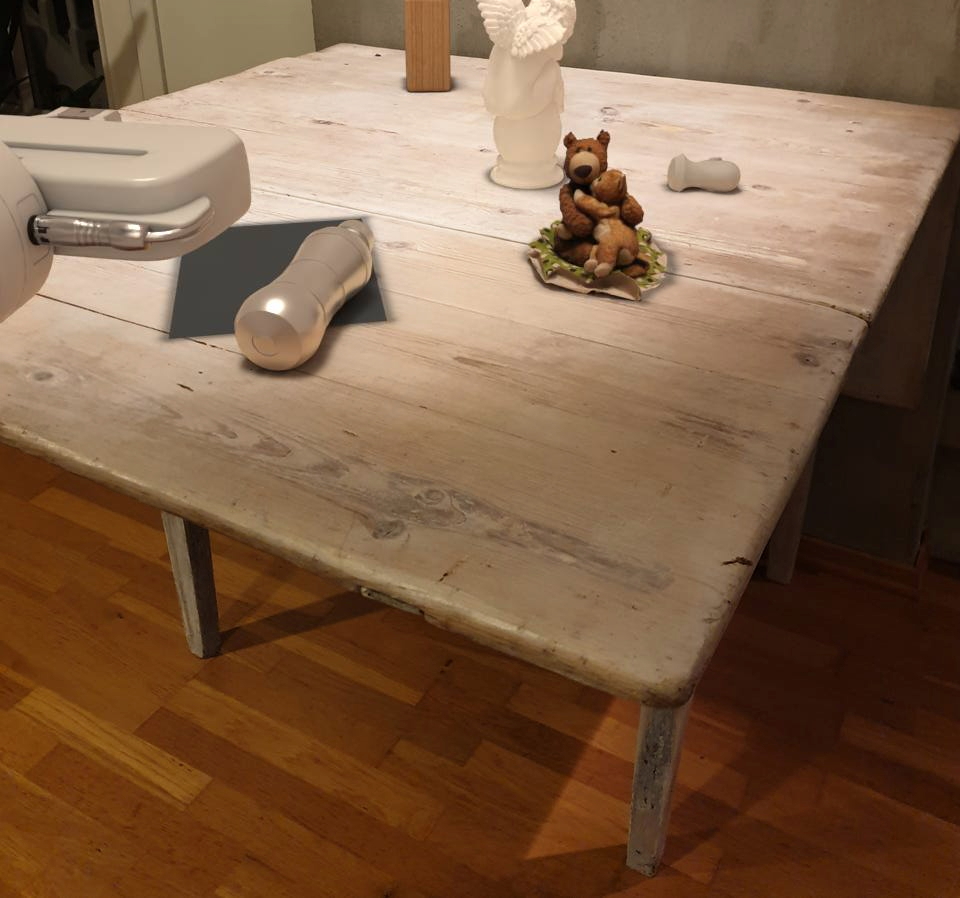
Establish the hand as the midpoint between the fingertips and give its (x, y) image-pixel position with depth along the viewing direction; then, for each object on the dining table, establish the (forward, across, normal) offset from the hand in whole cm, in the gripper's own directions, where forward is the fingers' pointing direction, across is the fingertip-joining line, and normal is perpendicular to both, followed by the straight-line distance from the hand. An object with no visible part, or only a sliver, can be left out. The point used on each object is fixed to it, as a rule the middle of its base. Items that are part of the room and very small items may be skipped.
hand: (96, 124), depth 49 cm
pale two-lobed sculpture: (+65, -35, +24) cm, 77 cm away
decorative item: (+104, +5, +24) cm, 107 cm away
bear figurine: (+41, -25, +24) cm, 53 cm away
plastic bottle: (+15, -1, +21) cm, 26 cm away
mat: (+34, +5, +24) cm, 42 cm away
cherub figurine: (+63, -16, +24) cm, 69 cm away
